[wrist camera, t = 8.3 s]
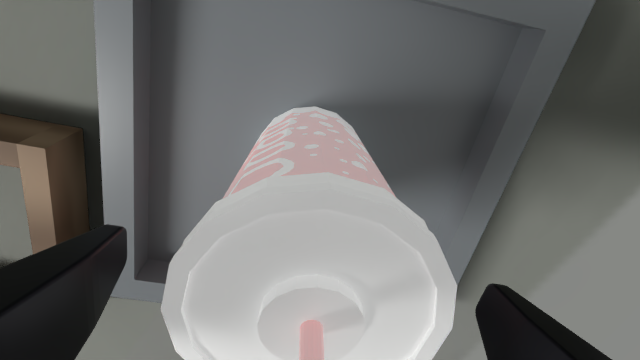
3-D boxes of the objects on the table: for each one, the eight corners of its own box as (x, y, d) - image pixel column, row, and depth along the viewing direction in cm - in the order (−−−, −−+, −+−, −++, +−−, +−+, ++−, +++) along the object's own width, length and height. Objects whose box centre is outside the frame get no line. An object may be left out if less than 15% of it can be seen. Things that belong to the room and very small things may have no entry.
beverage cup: (362, 68, 14) (871, 608, 1) (391, 200, 17) (658, 807, 4) (215, 111, 15) (-387, 776, 2) (265, 232, 17) (148, 858, 4)
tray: (418, 302, 21) (431, 338, 19) (131, 261, 19) (107, 295, 17) (549, 1, 14) (596, 0, 12) (127, -110, 12) (86, -137, 10)
